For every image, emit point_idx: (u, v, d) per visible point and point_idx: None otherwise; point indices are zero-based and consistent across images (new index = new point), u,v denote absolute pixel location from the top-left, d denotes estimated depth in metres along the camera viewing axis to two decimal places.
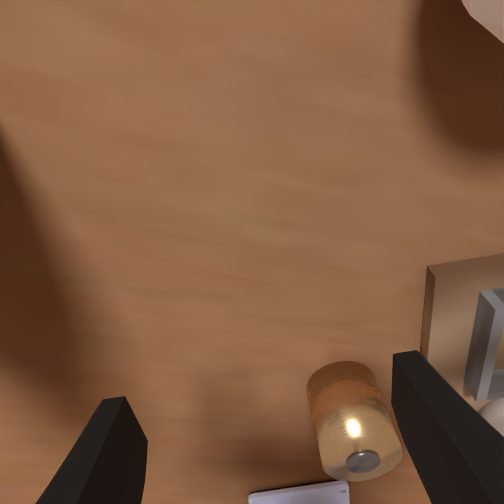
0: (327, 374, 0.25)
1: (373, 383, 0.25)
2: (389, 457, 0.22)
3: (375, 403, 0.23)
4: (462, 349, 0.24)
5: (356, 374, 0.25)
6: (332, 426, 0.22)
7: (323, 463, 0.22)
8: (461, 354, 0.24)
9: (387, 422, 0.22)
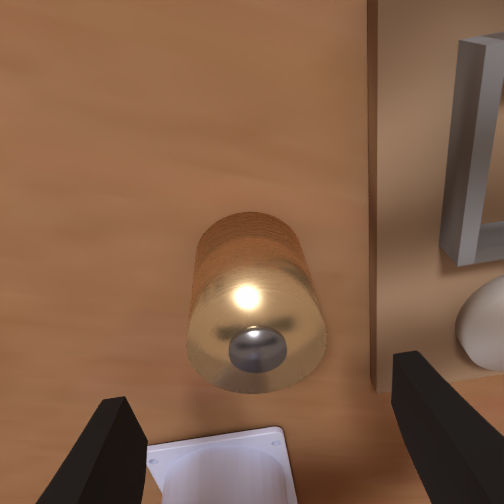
0: (219, 228, 0.15)
1: (291, 241, 0.15)
2: (304, 344, 0.13)
3: (285, 257, 0.14)
4: (434, 176, 0.14)
5: (263, 225, 0.15)
6: (205, 289, 0.13)
7: (189, 353, 0.13)
8: (433, 187, 0.15)
9: (300, 283, 0.13)
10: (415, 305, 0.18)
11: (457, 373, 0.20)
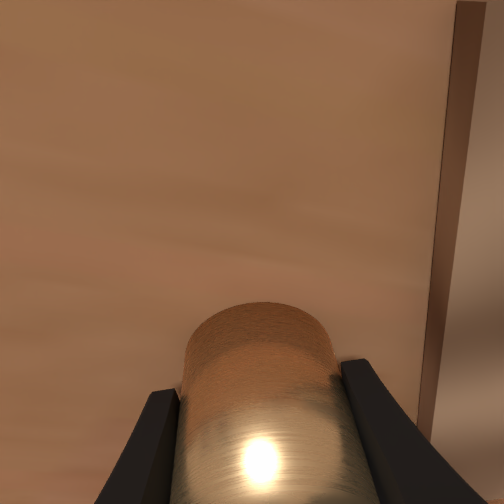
0: (217, 329, 0.11)
1: (322, 350, 0.10)
2: None
3: (317, 395, 0.09)
4: None
5: (281, 329, 0.10)
6: (194, 459, 0.08)
7: None
8: None
9: (345, 448, 0.08)
10: (485, 417, 0.13)
11: None
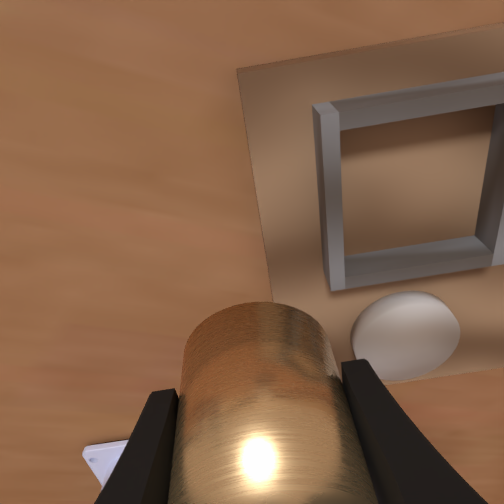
0: (216, 329, 0.11)
1: (320, 350, 0.10)
2: None
3: (316, 395, 0.09)
4: (309, 214, 0.17)
5: (280, 329, 0.10)
6: (192, 459, 0.08)
7: None
8: (310, 223, 0.17)
9: (344, 448, 0.08)
10: None
11: None
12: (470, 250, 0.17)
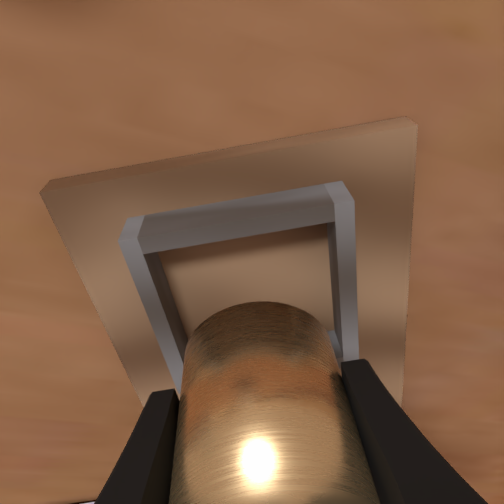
0: (217, 328, 0.11)
1: (322, 350, 0.10)
2: None
3: (318, 395, 0.09)
4: None
5: (281, 328, 0.10)
6: (194, 459, 0.08)
7: None
8: None
9: (346, 448, 0.08)
10: None
11: None
12: None
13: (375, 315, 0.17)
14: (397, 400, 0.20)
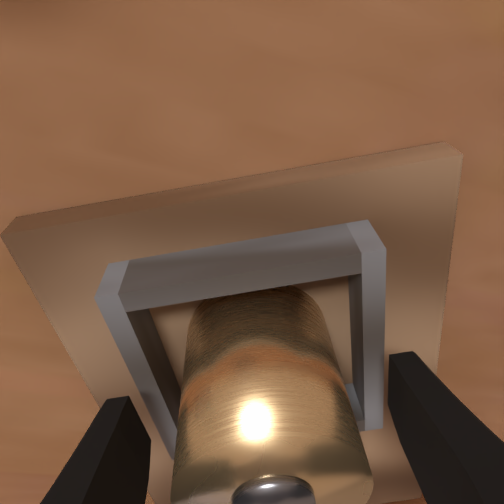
0: (218, 303, 0.12)
1: (315, 323, 0.11)
2: (340, 492, 0.09)
3: (310, 359, 0.10)
4: None
5: (277, 303, 0.11)
6: (197, 414, 0.09)
7: None
8: None
9: (335, 405, 0.09)
10: None
11: None
12: None
13: None
14: None
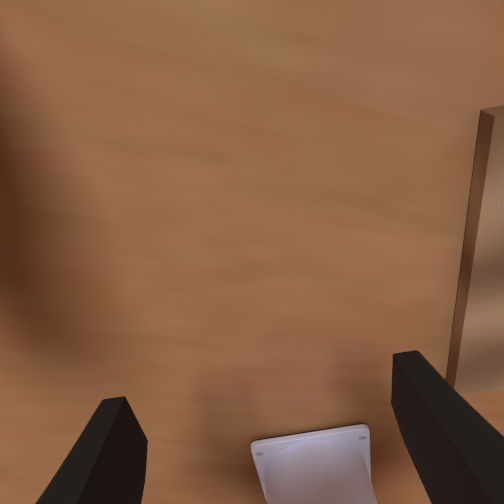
0: None
1: None
2: None
3: None
4: None
5: None
6: None
7: None
8: None
9: None
10: (493, 327, 0.22)
11: None
12: None
13: None
14: None
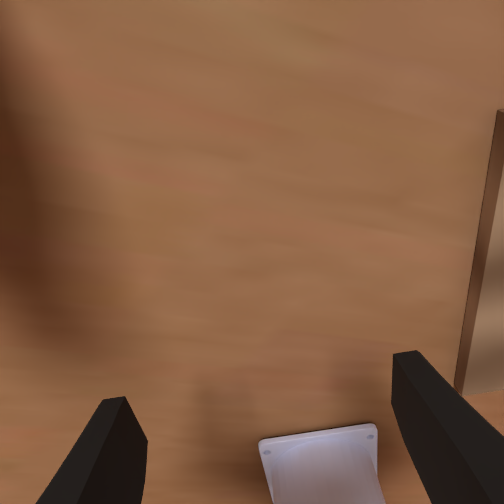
0: None
1: None
2: None
3: None
4: None
5: None
6: None
7: None
8: None
9: None
10: None
11: None
12: None
13: None
14: None
